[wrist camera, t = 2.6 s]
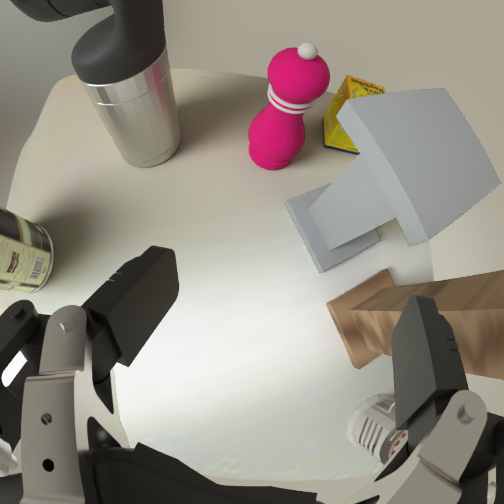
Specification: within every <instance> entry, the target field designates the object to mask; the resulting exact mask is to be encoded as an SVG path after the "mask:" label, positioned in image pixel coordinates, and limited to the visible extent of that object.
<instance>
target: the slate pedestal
mask: <svg viewBox="0 0 504 504" xmlns="http://www.w3.org/2000/svg"><path fill="white" fill-rule="evenodd" d="M336 118H337V119H338V121H339V122H340V123H341V125H342V126H343V128H344V129H345V131H346V132H347V134H348V135H349V137H350V138H351V140H352V141H353V143H354V145H355V146H356V148H357V149H358V151H359V152H360V154H359V155H358V156H357V157H356V158H355V159H354V160H353V161H352V163H351V164H350V165H349V166H348V167H347V168H346V169H345V170H344V171H343V172H342V173H341V174H340V175H339V176H338V178H337V179H336V180H335V181H334V182H333V183H330V184H328V185H325V186H323V187H320V188H318V189H315V190H313V191H310V192H308V193H306V194H303V195H301V196H298V197H296V198H293V199H291V200H289V201H287V202H286V204H285V206H286V208H287V210H288V212H289V214H290V216H291V217H292V219H293V221H294V223H295V225H296V227H297V229H298V231H299V233H300V235H301V237H302V239H303V241H304V243H305V245H306V247H307V249H308V251H309V253H310V255H311V257H312V259H313V261H314V263H315V265H316V267H317V269H318V271H319V273H321V272H324V271H326V270H327V269H329V268H331V267H333V266H335V265H337V264H339V263H340V262H342V261H344V260H346V259H348V258H349V257H351V256H353V255H355V254H357V253H358V252H360V251H362V250H364V249H365V248H367V247H369V246H371V245H373V244H374V243H376V242H378V241H379V240H380V238H379V236H378V233H377V231H376V229H375V228H376V227H378V226H380V225H382V224H384V223H386V222H388V221H390V220H392V219H394V218H396V219H397V221H398V223H399V225H400V227H401V229H402V231H403V233H404V236H405V238H406V240H407V242H408V244H409V247H410V246H413V245H415V244H418V243H421V242H424V241H427V240H429V239H431V238H432V237H434V236H435V235H436V234H438V233H439V232H440V231H442V230H443V229H445V228H446V227H447V226H448V225H450V224H451V223H452V222H454V221H455V220H456V219H458V218H459V217H460V216H461V215H463V214H464V213H465V212H467V211H468V210H469V209H471V208H472V207H473V206H474V205H476V204H477V203H478V202H479V201H480V200H482V199H483V198H484V197H485V196H486V195H488V194H489V193H490V192H491V191H492V190H494V189H495V188H496V187H497V186H498V185H499V184H501V182H500V180H499V178H498V176H497V173H496V171H495V169H494V167H493V165H492V164H491V161H490V159H489V158H488V156H487V154H486V152H485V150H484V148H483V146H482V145H481V143H480V141H479V139H478V138H477V136H476V134H475V133H474V131H473V129H472V128H471V126H470V125H469V123H468V121H467V120H466V118H465V117H464V116H463V114H462V112H461V111H460V110H459V108H458V106H457V105H456V104H455V102H454V101H453V99H452V98H451V97H450V95H449V94H448V93H447V91H446V90H445V89H444V88H437V89H423V90H411V91H402V92H394V93H386V94H378V95H372V96H365V97H359V98H354V99H348V100H346V102H345V103H344V105H343V106H342V108H341V109H340V111H339V113H338V114H337V116H336Z"/></svg>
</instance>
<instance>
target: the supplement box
mask: <svg viewBox="0 0 504 504" xmlns="http://www.w3.org/2000/svg"><path fill="white" fill-rule="evenodd" d="M378 94H386V93H385V90H384V88H383V87H380V86H378V85H375V84H372V83H369V82H367V81H364V80H361V79H358V78H355V77H352V76H349V75H347V76H346V78H345V80H344V82H343V83H342V85H341V87H340V89H339V90H338V92H337V94H336V96H335V97H334V99H333V101H332V103H331V105H330V106H329V108H328V110H327V112H326V113H325V115H324V117H323V119H322V121H323V147H326V148H331V149H335V150H339V151H344V152H348V153H352V154H356V155H357V154H358V153H359V151H358V149H357V148H356V146H355V145H354V143H353V141H352V140H351V138H350V137H349V135H348V134H347V132H346V131H345V129H344V128H343V126H342V125H341V123H340V122H339V121H338V119H337V118H336V116H337V114H338V113H339V111H340V109H341V108H342V106H343V105H344V103H345V102H346V100H348V99H354V98H359V97H365V96H372V95H378Z"/></svg>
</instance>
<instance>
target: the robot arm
mask: <svg viewBox="0 0 504 504" xmlns="http://www.w3.org/2000/svg"><path fill="white" fill-rule="evenodd" d="M10 1H11V2H12V3H13V4H14V5H15V6H16V7H17V8H18V9H20V10H21V11H22V12H23V13H25V14H26V15H27V16H29V17H31V18H33V19H34V20H37V21H42V22H52V21H58V20H62V19H65V18H68V17H72V16H74V15H78V14H81V13H84V12H88V11H92V10H95V9H99V8H103V7H107V6H111V5H112V7H113V9H114V14H113V15H111V16H109V17H107V18H106V19H104V20H102V21H101V22H99V23H97V24H96V25H94V26H93V27H92V28H90V29H89V30H88V31H87V32H86V33H85V34H84V35H83V36H82V37H81V38H80V39H79V41H78V42H77V43H76V45H75V47H74V48H73V51H72V57H71V58H72V64H73V67H74V69H75V71H76V73H77V75H78V77H79V79H80V81H81V83H82V85H83V87H84V89H85V90H86V92H87V94H88V96H89V98H90V100H91V101H92V103H93V105H94V107H95V109H96V111H97V112H98V114H99V116H100V118H101V120H102V121H103V123H104V125H105V127H106V128H107V130H108V132H109V134H110V135H111V137H112V139H113V141H114V142H115V144H116V146H117V148H118V149H119V151H120V153H121V154H122V156H123V158H124V159H125V160H126V161H127V162H128V163H129V164H131V165H133V166H137V167H152V166H156V165H158V164H161V163H162V162H164V161H166V160H167V159H169V158H170V157H171V156H172V155H173V154H174V153H175V151H176V150H177V148H178V146H179V144H180V141H181V132H180V126H179V120H178V114H177V108H176V103H175V97H174V91H173V84H172V78H171V72H170V65H169V60H168V53H167V46H166V39H165V31H164V16H163V3H162V0H10ZM178 292H179V281H178V273H177V265H176V257H175V253H174V251H173V250H172V249H168V248H163V247H158V246H151V247H149V248H148V249H147V250H146V251H145V252H144V253H143V254H142V255H141V256H140V257H136V258H134V259H132V260H130V261H128V262H126V263H125V264H124V265H123V266H122V267H120V268H119V269H118V270H117V271H116V274H115V273H114V274H113V275H112V276H111V277H110V278H109V280H108V281H106V282H105V283H104V284H103V285H102V286H101V287H100V288H99V289H98V290H97V291H96V292H95V293H94V294H93V295H92V296H91V297H90V298H89V299H88V300H87V301H86V302H85V303H84V304H83V305H82V306H81V307H80V306H76V305H69V306H65V307H62V308H60V309H58V310H57V311H55V312H54V313H53V314H52V315H45V314H38V313H37V311H36V309H35V307H34V305H33V303H32V302H31V301H29V300H20V301H17V302H15V303H13V304H12V305H11V306H9V307H8V308H7V309H6V310H5V311H4V313H3V314H2V315H1V316H0V504H324V503H322V502H320V501H317V500H316V496H317V493H312V492H303V491H296V490H289V489H283V488H277V487H272V486H265V487H264V486H261V487H260V486H257V487H256V486H255V487H254V486H225V485H219V484H216V483H214V482H213V481H211V480H209V479H208V478H205V477H204V476H203V475H201V474H199V473H198V472H196V471H195V470H193V469H191V468H190V467H188V466H187V465H185V464H184V463H182V462H181V461H179V460H178V459H176V458H173V457H171V456H168V455H166V454H164V453H161V452H159V451H157V450H154V449H152V448H150V447H148V446H146V445H144V444H141V443H139V442H138V443H137V445H136V447H135V449H134V448H130V447H129V442H128V439H127V436H126V433H125V430H124V428H123V426H122V424H121V421H120V417H119V410H118V402H117V393H116V384H115V373H114V370H113V367H114V365H115V364H116V362H118V363H120V364H122V365H125V366H127V367H129V366H130V365H131V363H132V362H133V360H134V359H135V357H136V356H137V354H138V353H139V352H140V350H141V349H142V347H143V346H144V344H145V343H146V342H147V340H148V339H149V337H150V336H151V334H152V333H153V332H154V330H155V329H156V327H157V326H158V325H159V323H160V322H161V320H162V319H163V318H164V316H165V315H166V313H167V312H168V311H169V309H170V308H171V306H172V305H173V304H174V302H175V301H176V299H177V296H178ZM391 349H392V360H393V372H394V388H395V417H396V430H408V438H406V439H405V440H404V441H403V443H402V444H401V445H400V447H399V448H398V449H397V450H396V452H395V453H394V454H393V455H392V456H391V458H390V459H389V460H388V461H387V462H386V464H385V465H384V466H383V467H382V468H381V469H380V470H379V472H378V473H377V474H376V475H375V476H374V477H373V478H372V479H371V480H370V481H369V482H368V483H367V484H366V485H365V486H364V487H363V488H361V489H360V490H358V491H357V492H356V493H355V494H353V495H352V496H351V497H350V498H349V499H348V500H346V501H345V502H344V503H343V504H487V496H488V471H490V470H492V469H493V468H495V467H496V497H495V501H494V504H504V417H502V416H498V415H496V414H492V413H489V412H487V410H486V406H485V403H484V402H483V400H482V399H481V397H480V396H479V395H477V394H476V393H474V392H472V391H469V388H468V384H467V380H466V375H465V371H464V367H463V363H462V360H461V356H460V352H458V350H459V349H458V346H457V342H455V336H454V333H453V329H452V326H451V325H450V324H449V322H448V321H447V320H446V318H445V317H444V316H443V315H440V314H439V312H438V309H437V306H436V303H435V300H434V299H433V298H431V297H425V296H419V295H411V296H410V297H409V299H408V301H407V303H406V306H405V308H404V310H403V312H402V314H401V316H400V318H399V320H398V322H397V324H396V326H395V328H394V331H393V334H392V340H391ZM19 350H20V351H21V352H22V354H23V355H24V357H25V358H26V359H27V362H26V363H25V365H24V366H23V367H22V369H21V370H20V371H19V373H18V374H17V375H16V377H15V378H14V379H13V381H12V382H11V384H10V385H9V386H7V387H5V386H4V385H3V383H2V379H1V377H2V373H3V371H4V370H5V368H6V367H7V366H8V364H9V363H10V362H11V361H12V359H13V358H14V357H15V355H16V354H17V353H18V352H19ZM20 438H21V462H22V473H18V474H13V475H9V474H8V472H9V468H10V469H12V470H13V469H15V468H17V465H18V461H17V459H16V457H15V456H14V455H12V452H13V451H14V449H15V447H16V445H17V443H18V441H19V440H20Z"/></svg>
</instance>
